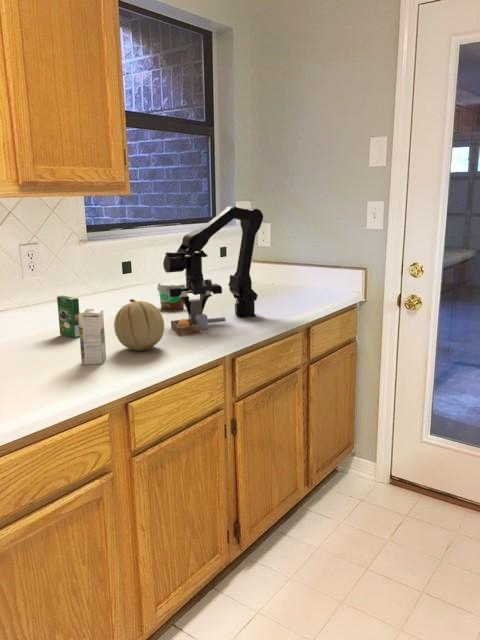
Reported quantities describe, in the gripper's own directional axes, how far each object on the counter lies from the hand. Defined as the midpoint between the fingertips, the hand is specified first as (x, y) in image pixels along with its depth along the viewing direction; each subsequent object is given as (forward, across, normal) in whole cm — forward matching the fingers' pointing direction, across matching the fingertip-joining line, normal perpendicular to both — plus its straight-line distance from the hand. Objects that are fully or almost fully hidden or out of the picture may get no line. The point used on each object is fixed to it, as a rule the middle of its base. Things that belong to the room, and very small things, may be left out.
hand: (195, 314), depth 189 cm
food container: (+4, -4, +27) cm, 28 cm away
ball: (+1, -6, -9) cm, 11 cm away
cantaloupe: (+4, -24, -26) cm, 35 cm away
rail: (+3, +3, 0) cm, 5 cm away
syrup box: (+4, -38, -33) cm, 50 cm away
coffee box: (+4, -42, -1) cm, 43 cm away
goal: (+3, -6, -9) cm, 11 cm away
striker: (+3, 0, -4) cm, 5 cm away
